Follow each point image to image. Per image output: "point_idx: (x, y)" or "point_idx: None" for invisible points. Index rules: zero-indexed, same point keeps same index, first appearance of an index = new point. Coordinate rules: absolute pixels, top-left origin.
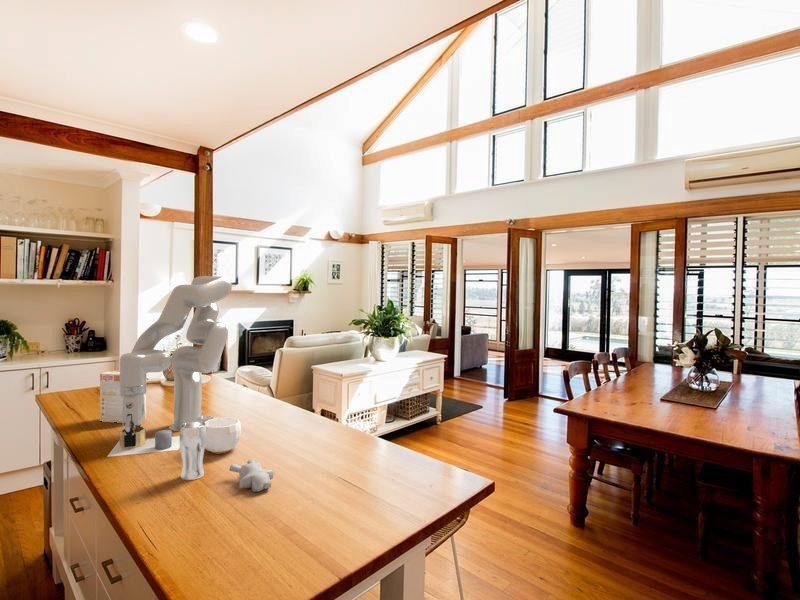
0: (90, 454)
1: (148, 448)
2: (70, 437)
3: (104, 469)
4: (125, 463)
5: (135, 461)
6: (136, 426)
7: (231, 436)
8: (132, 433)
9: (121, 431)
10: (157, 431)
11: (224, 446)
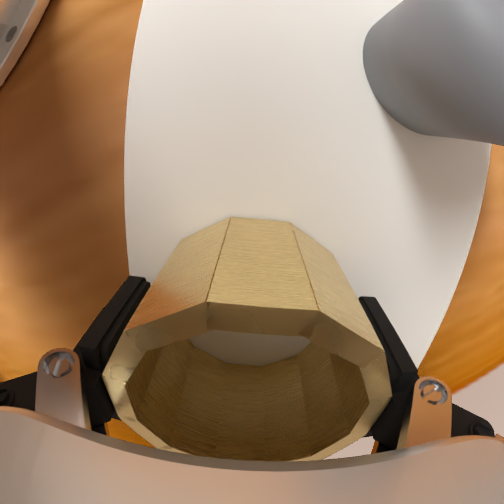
0: None
1: (411, 185)
2: None
3: (488, 351)
4: (492, 292)
5: (499, 251)
6: (117, 393)
7: None
8: (442, 400)
9: None
10: (489, 107)
11: None
